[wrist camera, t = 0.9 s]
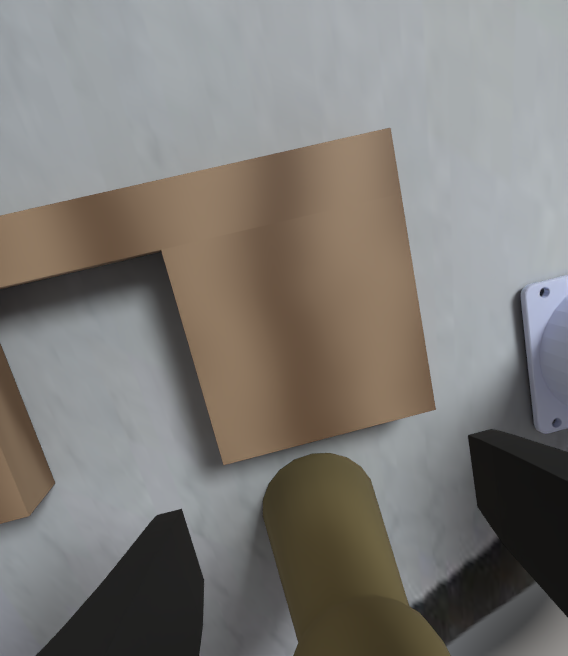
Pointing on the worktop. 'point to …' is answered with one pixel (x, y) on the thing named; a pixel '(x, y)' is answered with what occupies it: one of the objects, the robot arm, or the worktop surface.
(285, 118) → the worktop surface
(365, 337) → the notched board
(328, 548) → the cork
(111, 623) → the robot arm
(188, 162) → the worktop surface
